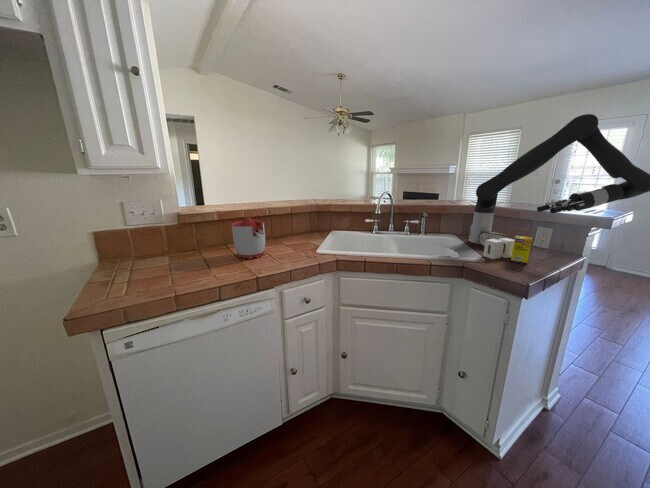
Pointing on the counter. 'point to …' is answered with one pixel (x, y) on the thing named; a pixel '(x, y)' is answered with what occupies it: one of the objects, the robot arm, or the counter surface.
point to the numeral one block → (493, 248)
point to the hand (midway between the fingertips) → (543, 210)
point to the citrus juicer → (249, 237)
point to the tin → (490, 236)
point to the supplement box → (521, 249)
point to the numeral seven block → (507, 247)
